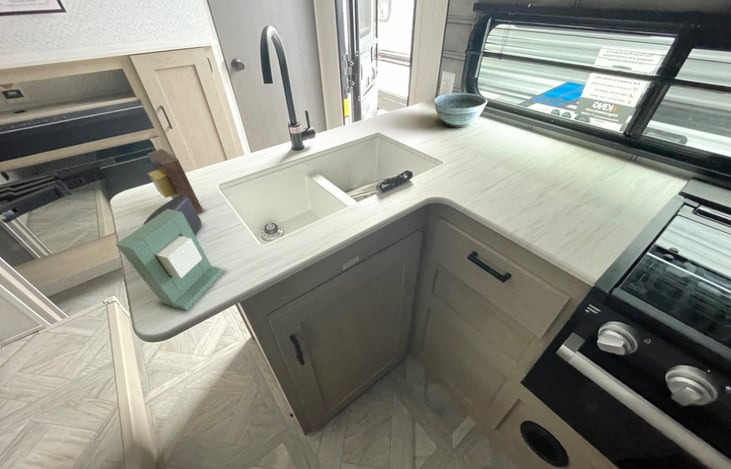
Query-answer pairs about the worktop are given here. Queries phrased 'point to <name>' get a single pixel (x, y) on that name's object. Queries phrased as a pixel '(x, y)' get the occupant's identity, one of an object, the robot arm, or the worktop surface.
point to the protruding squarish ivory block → (178, 256)
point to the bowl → (459, 108)
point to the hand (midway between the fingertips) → (101, 171)
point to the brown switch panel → (174, 176)
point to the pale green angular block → (142, 258)
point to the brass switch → (162, 183)
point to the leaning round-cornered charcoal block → (183, 206)
